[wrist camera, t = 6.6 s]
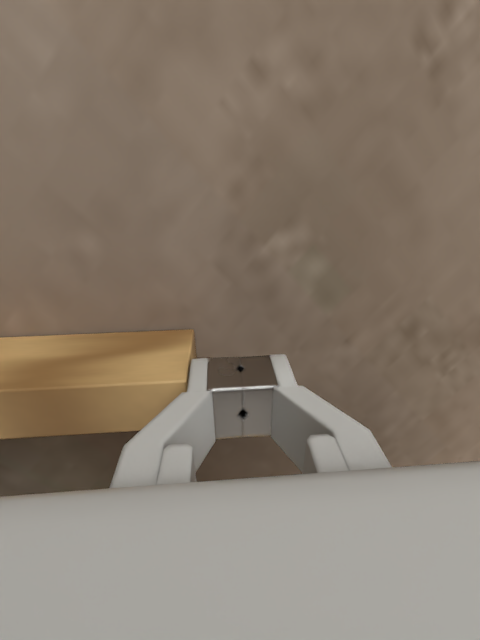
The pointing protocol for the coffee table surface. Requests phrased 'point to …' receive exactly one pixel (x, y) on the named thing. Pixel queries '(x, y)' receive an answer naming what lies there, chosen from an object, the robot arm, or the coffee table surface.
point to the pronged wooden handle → (90, 381)
